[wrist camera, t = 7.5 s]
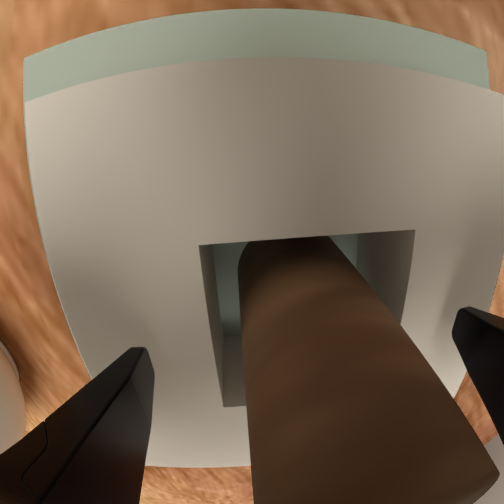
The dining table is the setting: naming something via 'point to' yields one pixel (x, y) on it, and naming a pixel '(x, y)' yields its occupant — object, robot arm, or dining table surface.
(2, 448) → the lidded jar
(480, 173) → the socket
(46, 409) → the dining table surface
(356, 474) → the peg
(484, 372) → the robot arm
